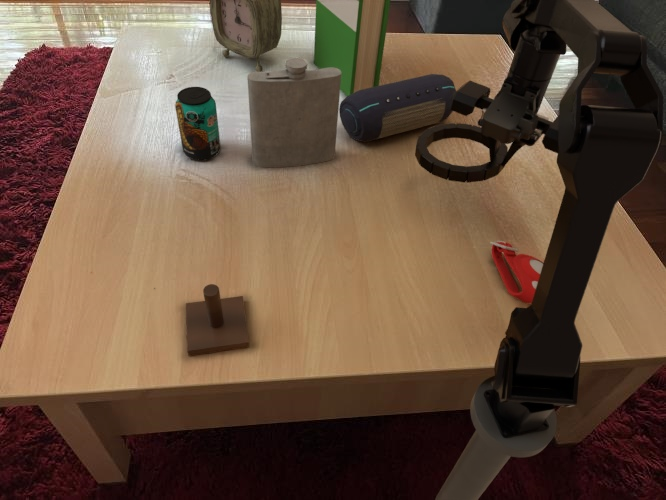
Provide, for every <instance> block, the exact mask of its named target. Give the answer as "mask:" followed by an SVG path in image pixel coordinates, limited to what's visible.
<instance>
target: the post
mask: <svg viewBox="0 0 666 500" xmlns="http://www.w3.org/2000/svg"><path fill="white" fill-rule="evenodd" d="M220 292H221V291H220V287H219V286H218V285H217V284H213V283H210V284H206V285H205V286H204V288H203V290H202V294H203V298H204V300H201V301H193V302H185V320H186V321H185V323H186V324H185V325H186V349H187V354H188V356H189V357H191V356H196V355H204V354H210V353H217V352H222V351H231V350H237V349H238V350H239V349H245V348H250V339H249V333H248V325H247V317H246V309H245V303H244V296H243V295H239V296H232V297H226V298H225V297H223V298H221V293H220Z"/></svg>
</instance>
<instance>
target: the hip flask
mask: <svg viewBox="0 0 666 500" xmlns="http://www.w3.org/2000/svg"><path fill="white" fill-rule="evenodd" d="M284 67H285V70H284V69H283V70H268V71H261V72H259V71H256V70H255V71H252V72H249V73H248V74H247V76H246V77H247V91H248V94H247V95H248V109H249V128H250V139H251V140H250V143H251V145H250V146H251V161H252V164H253V166H255V167H258V168H285V167H288V168H289V167H299V166H306V165H314V164H319V163H324V162H328V161H332V160H334V159H335V158H336V157H335V156H336V146H337V145H336V144H337V132H338V119H339V108H340V95H341V90H340V84H341V70H339V69H338V68H334V67H328V68H322V69H319V68H316V69H308V61H307V60H305V59H304V58H302V57H297V56H296V57H289V58H287V59H286V60H285V61H284ZM307 69H308V70H307Z"/></svg>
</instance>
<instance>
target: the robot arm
mask: <svg viewBox="0 0 666 500" xmlns="http://www.w3.org/2000/svg"><path fill="white" fill-rule="evenodd" d="M502 28H503V31H504V34H505V36H506V38H507V41H508V44H509V46H510V48H511V49H512V51H514V53H513V57H512V60H511V63H510V67H509V69H508V72H507V75H506V78H505V79H504V80H503V83H502V84H501V87H500V89H499V91H498V92H497V93H496V95H495V96H494V98H491V97H490V94H491V93H492V92H491V88H490V87H489V86H485V85H483V84H481V83H478V82H475V81H472V80H468V81H466V82H465V83H464V84H463V85H461V86H460V87H459V88H458V89H456V92H454V94H453V96H452V98H451V101H450V105H449V108H450V110H452V112H455V113H456V114H460V115H462V116H464V117H468V116H469V115H472V114H473V113H474V112H475V108H477V109H478V110H479V109H480V110H481V115H480V118H479V119H478V120H477V125H478V127H481V133H482V134H483V135H485V136H487V137H488V142H489V148H488V152H489V162H490V161H492V160H493V159H494V158H495V157H496V155H497V153H498V151H499V148H500V144H501V143H504V144H506V145H509V144H510V146H509V148H508V152H507V154H506V156H505V158H504V160H503V163H502V166H503V167H504V166H505V167H506V165H507V164H508V162H509V161H510V160H511V159H512V158H513V157H514V155H516V153H517V152H518V151H519V150H521V149H522V148H523V147H524V146H528V147H533V146H534V145H535V144H536V143H537V142H538V141H539V139H540V138H541V137H542V136H543V138H542V139H541V143H542V145H543V147H544V149H546V150H548V151H551V152H553V153H555V154H557V156H556V165H557V167H558V170H559V173H560V176H561V179H562V181H563V182H562V183H563V185H564V188H565V189H564V191H563V192H564V193H563V195H562V199H561V203H560V206H559V210H558V212H557V216H556V220H555V223H554V225H553V230H552V232H551V236H550V240H549V244H548V246H547V250H546V253H545V257H544V260H543V267H542V270H541V273H540V277H539V280H538V284H537V287H536V290H535V294H534V297H533V301H532V303H530V304H529V305H528V306H527V307H521V306H520V307H519V306H518V307H517V306H516V307H514V309H512V311H511V313H510V317H509V322H508V325H507V327H506V330H505V333H504V335H505V337H503V338H502V339H501V340H500V344H499V347H498V350H497V354H496V358H495V362H494V366H493V367H494V368H493V370H494V371H493V372H494V375H493V376H494V379H493V380H492V382H491V385H492V388H493V389H492V390H486V391H485V392H484V397H485V400H486V402H487V404H488V406H489V408H490V411H491V413H492V415H493V417H494V420H495V422H496V424H497V426H498V428H499V431H500V433H501V435H502V437H504V438H510V437H515V436H520V435H525V434H530V433H535V432H540V431H545V430H547V429H548V428H549V424H548V422H547V420H546V418H547V417H548V416H549V415H550V413H551V412H552V411H553V410H554V411H555V407H556V406H558V407H560V406H561V407H565V408H571V407H575V406H577V404H578V395H579V383H580V371H581V370H580V369H581V354H582V350H583V342H582V340H581V337H580V334H579V331H578V329H577V326H576V324H575V323H576V320H577V316H578V314H579V310H580V307H581V304H582V301H583V298H584V296H585V293H586V289H587V288H588V284H589V281H590V278H591V276H592V273H593V270H594V267H595V264H596V262H597V258H598V256H599V252H600V250H601V247H602V244H603V240H604V238H605V235H606V232H607V230H608V226H609V224H610V220H611V218H612V215H613V212H614V209H615V206H616V205H617V203H618V202H619V201H620V200H621V199H622V198H624V197H625V196H626V195H627V194H628V193H630V192H631V191H632V190H634V188H636V187H637V186H638V185H639V184H641V183H642V182H643V181H644V179H645V177H646V175H647V173H648V170H649V169H650V167H651V165H652V163H653V160H654V158H655V156H656V154H657V153H658V152H659V151H660V148H661V145H662V142H663V136H664V135H663V134H664V133H663V132H664V94H663V92H662V90H661V89H660V86H659V85H658V82H657V80H656V79H655V77H654V75H653V74H652V72H651V70H650V67H649V66H648V63H647V61H648V57H647V56H648V43H647V39H646V37H645V36H644V35H640V34H639V33H638V32H637V31H632V30H631V29H630V28H629V27H627V26H626V25H625V24H624V23H622V22H621V21H620V20H619V19H618V18H617V17H615V16H614V15H613V14H612V13H610V12H609V11H608V10H607V9H606V8H604V7H603V6H602V5H601V4H599V2H597V1H596V0H513V1H512V2H511V4H510V7H509V8H508V9H507V11H506V12H505V14H504V15H503V18H502ZM567 48H569V50H570V51H571V52H572V54H574V56H576V58H577V75H576V76H575V78H574V80H573V81H572V83H571V84H570V86H569V87H568V89H567V90H566V92H564V95H563V96H562V98H561V99H560V101H559V107H558V108H559V109H558V115H557V117H556V118H554V120H553V121H551V120H550V118H549V117H547V116H544V115H542V114H539V113H538V112H539V110H540V108H541V105H542V103H543V99H544V97H545V95H546V92H547V90H548V88H549V84H551V80H552V77H553V75H554V72H555V69H556V68H557V64H558V62H559V59H560V58H561V57H560V56H564V55H566V54H567ZM593 74H600V75H611V76H620V77H619V78H620V79H619V80H620V83H621V84H622V86H623V88H624V90H625V92H626V94H627V96H628V98H629V99H630V101H631V103H632V105H633V107H634V108H628V107H619V106H618V107H617V106H607V105H606V106H605V105H604V106H603V105H592V104H582V95H583V94H582V93H583V90H584V88H585V87H586V85H587V83H588V82H589V81H590V79H591V78H592V76H593ZM505 167H504V168H505ZM486 393H487V394H489V396H488V395H487V394H486ZM543 425H545V426H546V427H544V426H543ZM504 432H505V433H507V435H505V434H504Z"/></svg>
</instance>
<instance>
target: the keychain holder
mask: <svg viewBox="0 0 666 500" xmlns="http://www.w3.org/2000/svg"><path fill="white" fill-rule="evenodd" d="M489 244H490V245H491V257H492V259H493V261H494V264H495V266H496V268H497V271H498V273H499V275H500V277H501V280H502V281H503V284H504V286H505V288H506V291H507V292H508V293H509V295H511V296H512V297H514V298H515V299H517V300H519V301H520V302H523V303H525V304H531V303H532V301H533V297H534V294H535V290H536V287H537V284H538V280H539V277H540V273H541V270H542V267H543V263H544V261H542V260H540V259H538V258H537V257H534V256H532V255H529V254H524V253H519V254H516V252H517V253H518V252H519V249H518V248H515V247H513V245H512V244H511V243H510V242H505V241H503V240H496V242H495V241H490V242H489ZM505 260H506V262H507V264H508V265H509V267H510V268H511V271H512V272H513V273H514V276H515V277H516V278H517V279H518V282H519V284H520V285H519V286H520V288H521V291H520V290H519V288H518V285H517V283H516V281H515V279H514V278H513V275H512V274H511V271H510V269H509V267H508V265H507V264H506V262H505Z"/></svg>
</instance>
